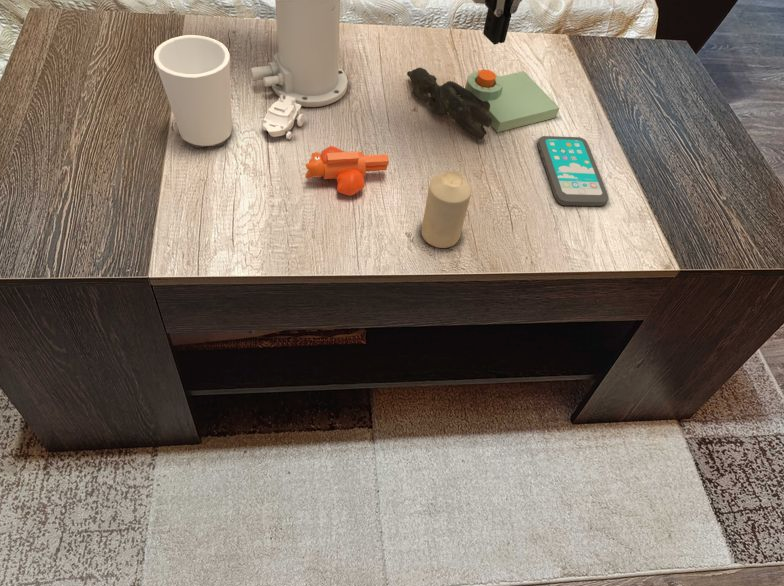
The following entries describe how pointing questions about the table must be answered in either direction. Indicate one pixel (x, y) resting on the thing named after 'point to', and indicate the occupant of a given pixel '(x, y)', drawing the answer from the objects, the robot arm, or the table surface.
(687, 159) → the table surface
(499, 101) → the scale
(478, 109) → the statue
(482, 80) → the button
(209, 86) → the cup
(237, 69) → the table surface
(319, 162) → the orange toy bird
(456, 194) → the candle
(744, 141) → the table surface
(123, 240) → the table surface
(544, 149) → the smartphone
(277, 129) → the toy car
